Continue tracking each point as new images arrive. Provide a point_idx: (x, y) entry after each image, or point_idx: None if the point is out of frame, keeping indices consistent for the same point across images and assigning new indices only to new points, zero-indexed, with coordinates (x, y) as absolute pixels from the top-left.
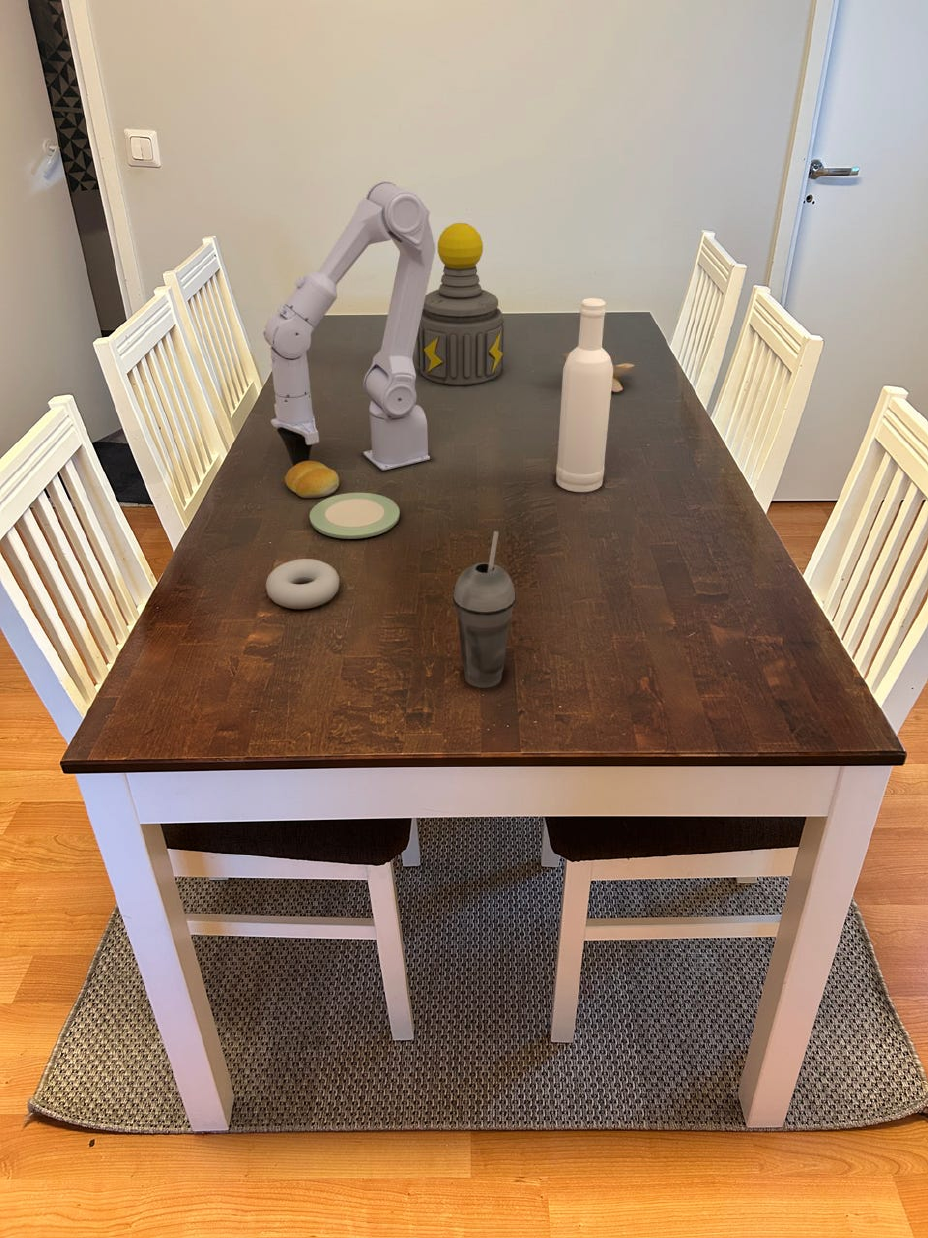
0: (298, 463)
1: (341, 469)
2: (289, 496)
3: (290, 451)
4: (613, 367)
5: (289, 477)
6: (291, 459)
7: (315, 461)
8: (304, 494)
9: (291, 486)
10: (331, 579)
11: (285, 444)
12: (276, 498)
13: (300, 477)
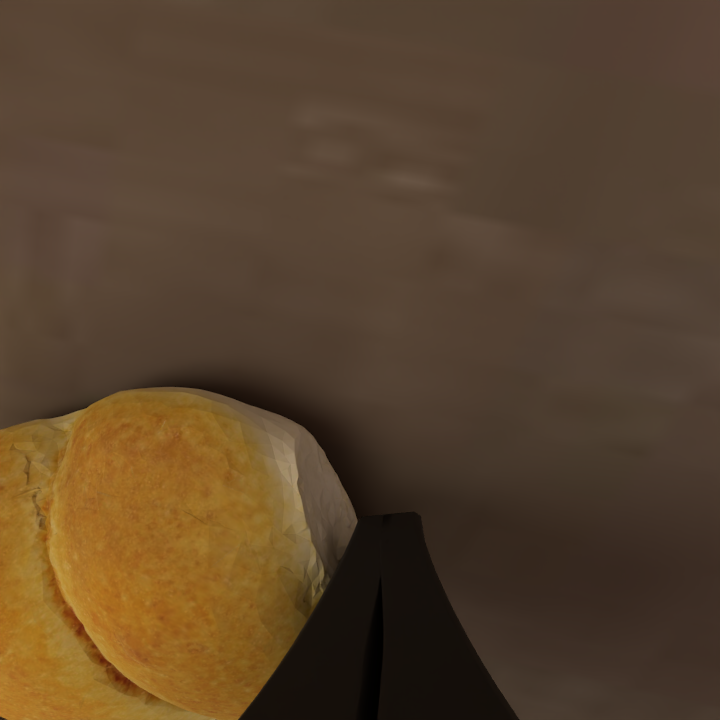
0: (231, 608)
1: None
2: (78, 359)
3: (321, 670)
4: None
5: (98, 453)
6: (396, 569)
7: None
8: None
9: (80, 418)
10: None
11: (474, 703)
12: (56, 257)
13: (44, 537)
